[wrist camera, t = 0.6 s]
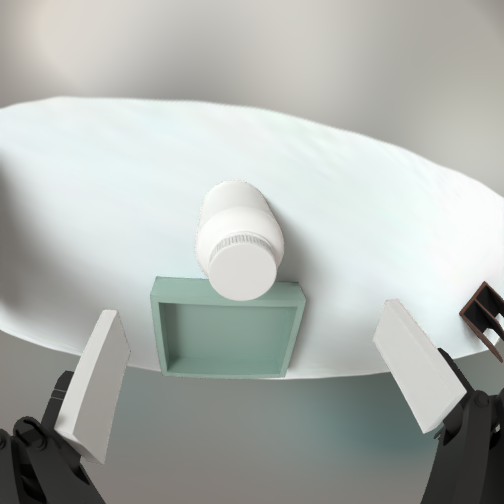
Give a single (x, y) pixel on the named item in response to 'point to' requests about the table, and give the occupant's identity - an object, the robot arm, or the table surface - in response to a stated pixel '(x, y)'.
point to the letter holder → (484, 314)
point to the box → (224, 330)
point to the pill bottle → (238, 241)
